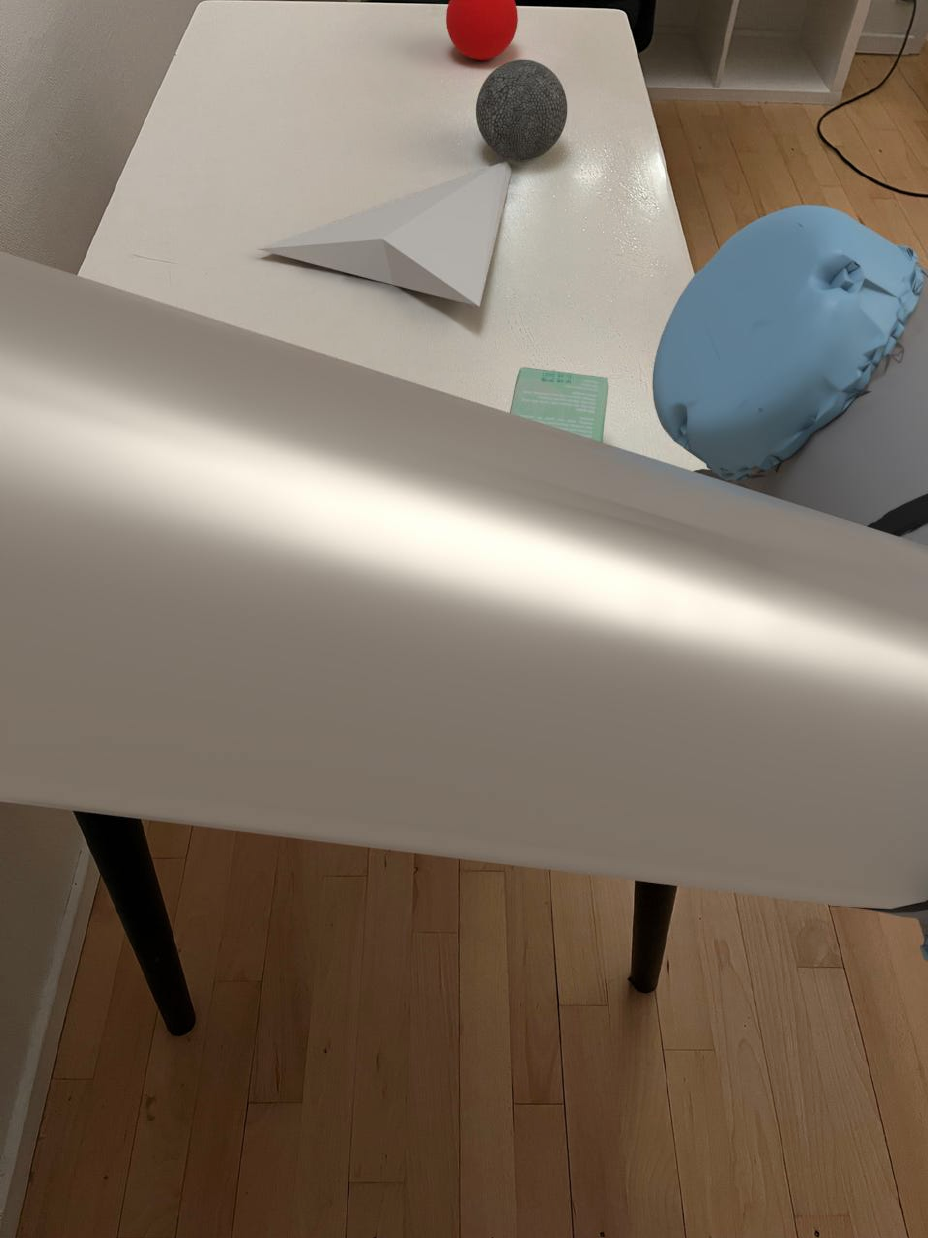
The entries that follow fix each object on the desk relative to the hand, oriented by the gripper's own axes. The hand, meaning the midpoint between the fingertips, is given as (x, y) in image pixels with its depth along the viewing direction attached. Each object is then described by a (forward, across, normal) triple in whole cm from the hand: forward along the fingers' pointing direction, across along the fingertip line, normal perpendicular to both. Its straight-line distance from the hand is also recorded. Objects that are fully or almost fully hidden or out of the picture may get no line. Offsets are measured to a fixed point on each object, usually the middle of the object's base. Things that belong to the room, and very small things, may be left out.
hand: (519, 602), depth 62 cm
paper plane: (+41, +37, +24) cm, 60 cm away
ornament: (+56, +76, +39) cm, 102 cm away
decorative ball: (+42, +60, +25) cm, 77 cm away
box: (+16, +18, -1) cm, 25 cm away
